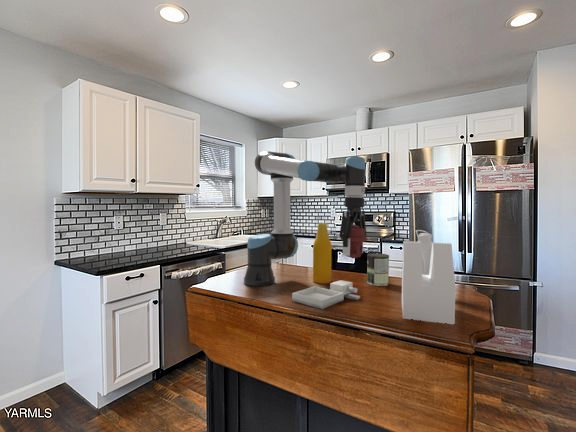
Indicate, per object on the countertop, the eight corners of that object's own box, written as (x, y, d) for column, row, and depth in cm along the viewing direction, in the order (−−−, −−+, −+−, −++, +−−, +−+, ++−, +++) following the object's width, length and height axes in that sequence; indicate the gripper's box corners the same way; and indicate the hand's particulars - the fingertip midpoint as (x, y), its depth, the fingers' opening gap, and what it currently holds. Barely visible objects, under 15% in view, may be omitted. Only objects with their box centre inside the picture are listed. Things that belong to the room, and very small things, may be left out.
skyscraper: (421, 297, 127) (423, 230, 126) (410, 292, 135) (411, 229, 134) (439, 296, 129) (440, 230, 128) (426, 291, 137) (428, 229, 136)
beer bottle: (334, 280, 154) (334, 223, 153) (326, 284, 146) (327, 224, 145) (317, 278, 159) (318, 223, 158) (309, 282, 151) (309, 223, 150)
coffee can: (363, 283, 148) (364, 255, 148) (371, 279, 157) (371, 252, 156) (384, 287, 142) (385, 257, 142) (391, 282, 151) (392, 254, 150)
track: (333, 294, 130) (333, 292, 129) (337, 293, 132) (337, 290, 132) (356, 300, 122) (356, 297, 122) (360, 298, 124) (360, 296, 124)
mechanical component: (365, 255, 124) (367, 259, 114) (340, 254, 126) (340, 258, 116) (366, 225, 123) (368, 227, 114) (341, 224, 125) (340, 226, 115)
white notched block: (454, 324, 97) (456, 246, 96) (403, 318, 102) (404, 244, 101) (444, 306, 115) (446, 240, 115) (401, 302, 120) (402, 239, 120)
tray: (292, 300, 121) (292, 293, 121) (314, 293, 132) (314, 286, 132) (322, 309, 111) (322, 300, 111) (343, 300, 122) (343, 292, 122)
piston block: (330, 292, 128) (330, 283, 128) (340, 289, 134) (340, 280, 133) (351, 297, 121) (351, 287, 121) (360, 293, 127) (361, 284, 127)
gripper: (348, 196, 108) (346, 258, 109) (376, 197, 125) (374, 251, 126) (330, 196, 113) (329, 256, 114) (359, 197, 130) (358, 249, 131)
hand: (353, 253), depth 120 cm, fingers closed on mechanical component, 10 cm apart
